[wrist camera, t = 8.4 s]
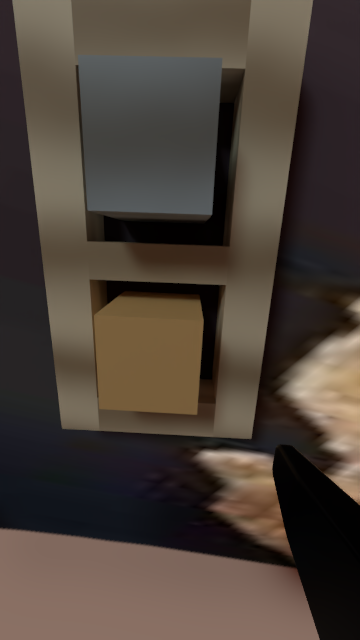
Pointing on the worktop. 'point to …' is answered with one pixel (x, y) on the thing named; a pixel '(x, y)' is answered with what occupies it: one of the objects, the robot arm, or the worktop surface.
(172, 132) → the puzzle frame
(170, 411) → the block
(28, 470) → the worktop surface
